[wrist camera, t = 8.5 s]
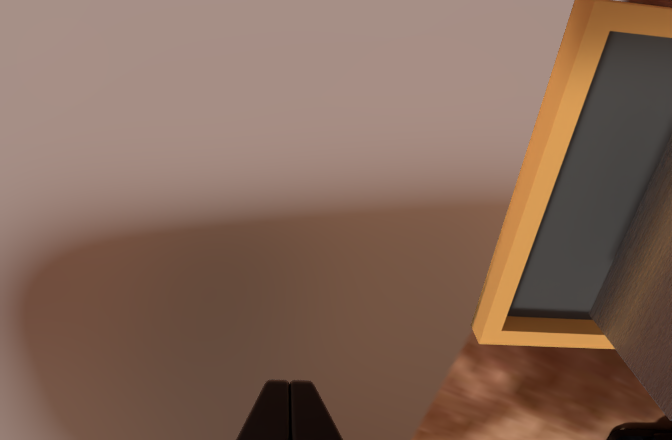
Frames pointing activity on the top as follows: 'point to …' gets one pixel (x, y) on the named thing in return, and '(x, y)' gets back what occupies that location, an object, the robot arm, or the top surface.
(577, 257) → the wooden picture frame
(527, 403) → the top surface
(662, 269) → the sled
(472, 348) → the top surface
